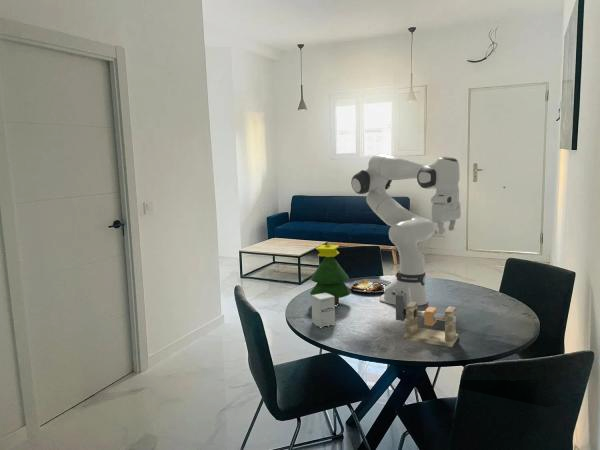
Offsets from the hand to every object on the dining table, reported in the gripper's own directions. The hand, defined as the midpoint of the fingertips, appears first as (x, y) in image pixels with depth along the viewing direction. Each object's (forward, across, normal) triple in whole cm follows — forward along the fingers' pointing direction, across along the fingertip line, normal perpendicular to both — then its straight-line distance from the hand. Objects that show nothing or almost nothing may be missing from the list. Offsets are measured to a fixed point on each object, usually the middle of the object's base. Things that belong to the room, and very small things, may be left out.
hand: (446, 231), depth 190 cm
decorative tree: (+38, +9, -52) cm, 65 cm away
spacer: (+32, +20, +3) cm, 38 cm away
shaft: (+32, +20, +1) cm, 38 cm away
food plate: (+37, -24, -50) cm, 67 cm away
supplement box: (+39, +31, -39) cm, 64 cm away
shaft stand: (+38, +20, +3) cm, 43 cm away
